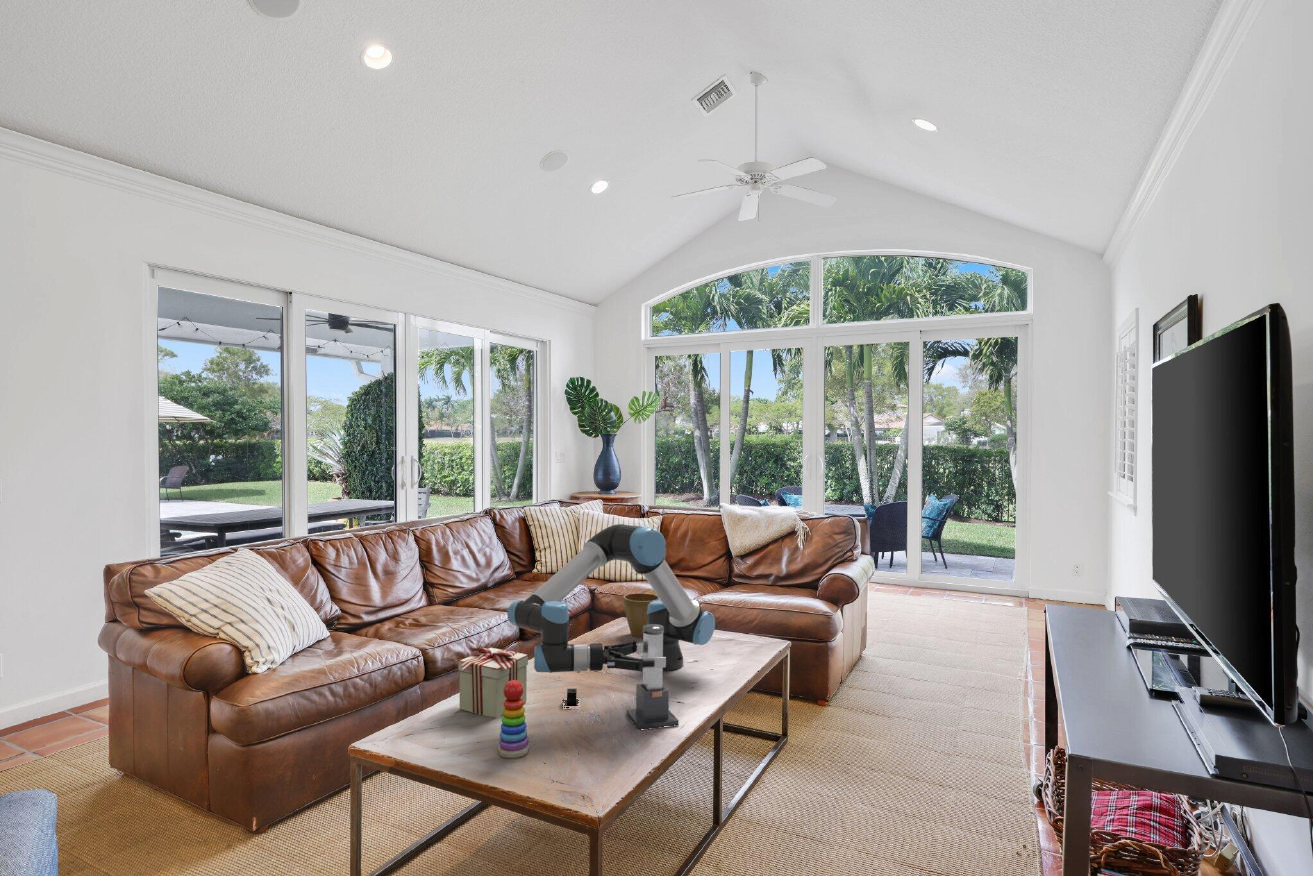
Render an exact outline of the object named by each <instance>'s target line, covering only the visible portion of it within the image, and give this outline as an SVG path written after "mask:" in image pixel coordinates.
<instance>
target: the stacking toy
mask: <svg viewBox="0 0 1313 876" xmlns="http://www.w3.org/2000/svg"><path fill="white" fill-rule="evenodd" d="M523 691H524V689H523V685H522V684H521V683H520V682H519V681H517V680H512V681H509V682H508V683H507V684H506V685H505V687H504V695H505V697H506V698H507V699H506V700H505V701H504V707H505V708H504V710H503V714H504V715H502V716H501V722H502V723H501V724H500V732H499V738H500V739H499V743H498V744H499V746H498V748H497V752H498V755H500V756H501V757H502V758H505V759H517V758H521V757H524V756H526V755H527V754H528V752H529V751H530V744H529V742H530V739H529V736H528V729H527V723H526V715H525V712H526V711H525V710H526V708H525V707H524V704H523V699H522V698H520V697H521V696H522V694H523Z"/></svg>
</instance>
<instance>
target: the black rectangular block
mask: <svg viewBox="0 0 1313 876" xmlns="http://www.w3.org/2000/svg"><path fill="white" fill-rule="evenodd" d="M577 690H578V689H577V688H567V689H566V698H567V700H564V701H565V702H564V703H565V705H564V706H578V705H577V704H578V703H579V702H578V701H579V700H578V699H576V698H577V692H578V691H577ZM564 708H565V707H564ZM566 708H569V707H566Z"/></svg>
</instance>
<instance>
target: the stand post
mask: <svg viewBox="0 0 1313 876" xmlns="http://www.w3.org/2000/svg"><path fill="white" fill-rule="evenodd" d="M663 632H664V627H663V626H662V625H658V624H648V625H644V626H643V637H642V638H643V641H642V644H643V653H642V656H643V658H650V657H663ZM663 671H664V670H663V668H643V671H642V684H643V688H644V690H645V691H646V692H647V691H657V690H662V684H663V674H664V673H663Z"/></svg>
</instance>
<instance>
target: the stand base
mask: <svg viewBox="0 0 1313 876" xmlns="http://www.w3.org/2000/svg"><path fill="white" fill-rule="evenodd" d="M669 698H670V691H669V689H668V688H667V687H666V686H665V685H664V684H663V683H662V690H657V691H647V692H646V691H645V690H644V688H643V683H638V684H636V685H635V708H632V709H631V708H629V709H626V712H625V713H626V714H627V715H628V716H627V715H626V716H627V717H629V718H628V719H629V720H630V721H632V722H633V723H632V722H631V723H632V724H633V726H634V725H635V726H636V727H635V726H634V727H635V728H636V730H637V729H638V730H640V731H642V730H641V729H648V730H650V729H649V728H656V729H660V728H659V727H664V726H673V727H675V726H674V725H679V723H680V721H679V719H678V718H677V717H676V716H675V715H674V714H673V712H671V711H670V709H669V707H670V704H669V702H670V700H669ZM664 728H665V727H664ZM638 730H637V731H638Z"/></svg>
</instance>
